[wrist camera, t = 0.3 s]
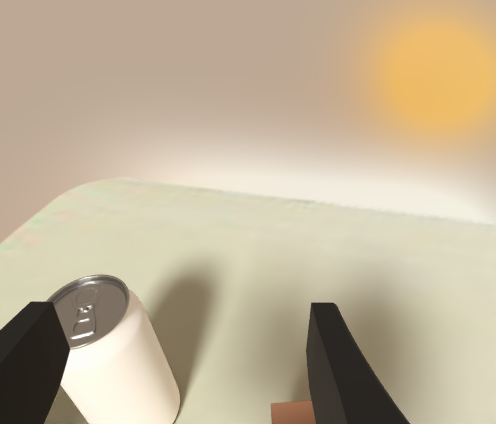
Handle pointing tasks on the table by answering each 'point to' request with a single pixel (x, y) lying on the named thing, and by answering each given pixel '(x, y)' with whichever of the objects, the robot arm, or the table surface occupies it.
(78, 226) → the table surface
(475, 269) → the table surface
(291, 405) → the block
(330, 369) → the robot arm
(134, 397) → the can
